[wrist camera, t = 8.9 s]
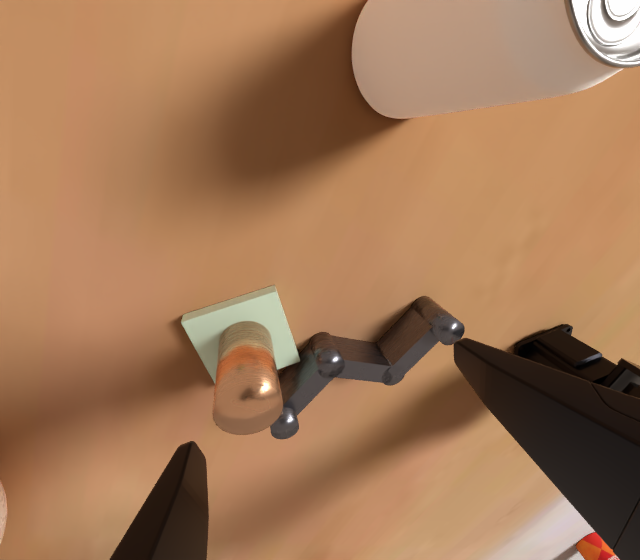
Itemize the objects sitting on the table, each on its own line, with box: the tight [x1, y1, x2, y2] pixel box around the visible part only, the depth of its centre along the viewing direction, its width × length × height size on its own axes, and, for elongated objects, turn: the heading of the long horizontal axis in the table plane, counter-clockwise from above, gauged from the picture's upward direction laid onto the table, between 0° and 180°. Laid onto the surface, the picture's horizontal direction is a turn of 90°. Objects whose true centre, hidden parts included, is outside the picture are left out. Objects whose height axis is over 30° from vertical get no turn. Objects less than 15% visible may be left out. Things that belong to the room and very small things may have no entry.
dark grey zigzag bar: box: [270, 296, 464, 439], centre depth 23 cm, size 5×16×4 cm, turn 103°
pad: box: [181, 285, 300, 383], centre depth 21 cm, size 6×6×1 cm
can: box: [352, 0, 640, 119], centre depth 12 cm, size 6×6×12 cm
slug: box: [213, 321, 283, 435], centre depth 18 cm, size 4×4×6 cm
